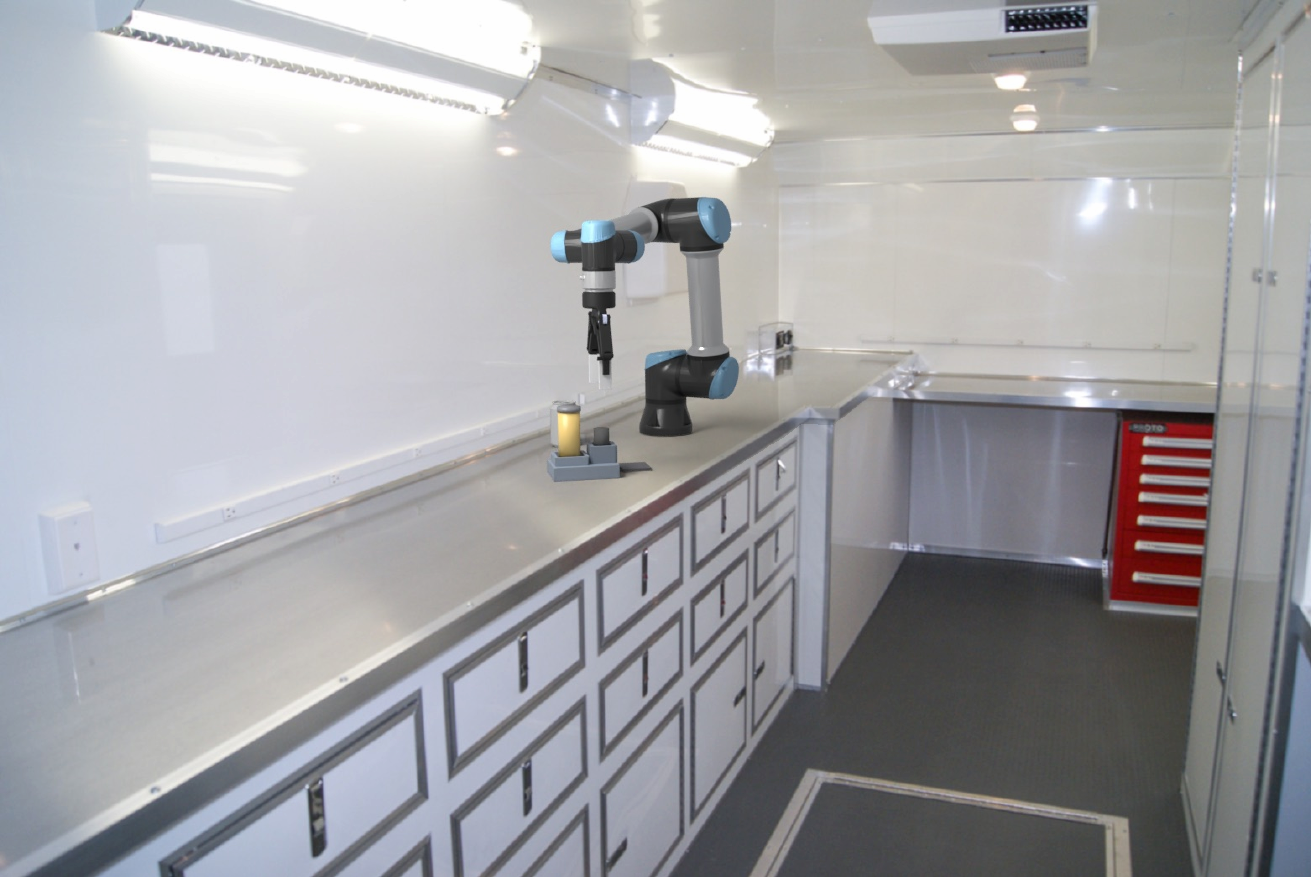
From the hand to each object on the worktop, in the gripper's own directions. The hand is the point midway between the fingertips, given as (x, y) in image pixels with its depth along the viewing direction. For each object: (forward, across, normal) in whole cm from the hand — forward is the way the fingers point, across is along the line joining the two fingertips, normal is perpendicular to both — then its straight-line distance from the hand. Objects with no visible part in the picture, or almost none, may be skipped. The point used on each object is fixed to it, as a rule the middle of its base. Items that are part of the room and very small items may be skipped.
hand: (600, 386), depth 236 cm
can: (+21, -36, -3) cm, 42 cm away
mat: (+20, -4, +9) cm, 23 cm away
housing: (+20, 0, -4) cm, 21 cm away
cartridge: (+17, 0, -7) cm, 19 cm away
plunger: (+15, 0, 0) cm, 15 cm away
